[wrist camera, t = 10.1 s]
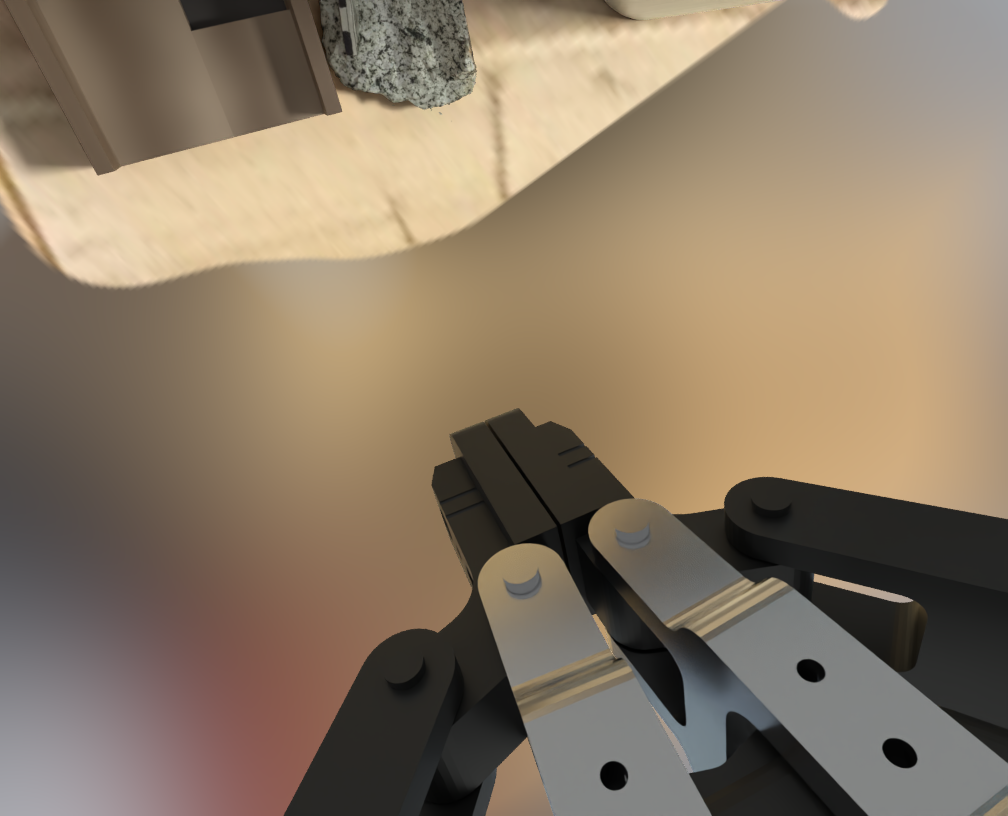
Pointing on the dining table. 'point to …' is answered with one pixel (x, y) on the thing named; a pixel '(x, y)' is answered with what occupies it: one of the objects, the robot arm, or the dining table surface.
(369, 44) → the rock sample
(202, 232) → the dining table surface
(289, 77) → the box
